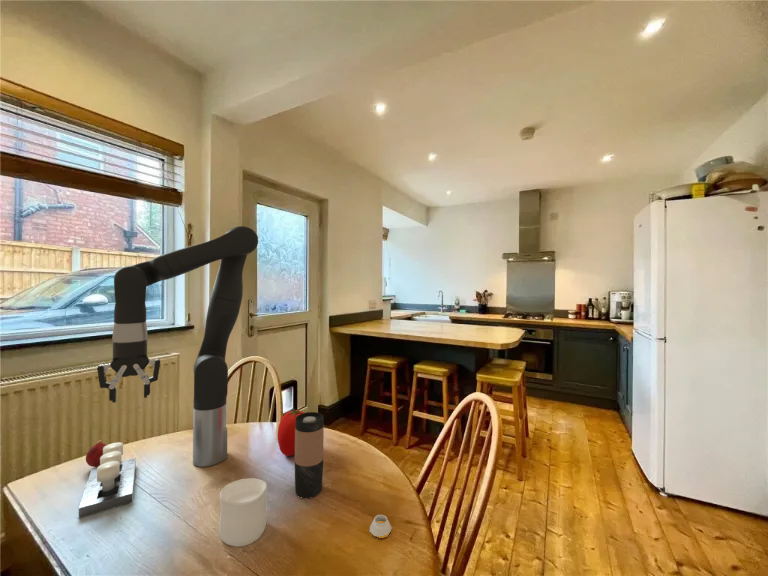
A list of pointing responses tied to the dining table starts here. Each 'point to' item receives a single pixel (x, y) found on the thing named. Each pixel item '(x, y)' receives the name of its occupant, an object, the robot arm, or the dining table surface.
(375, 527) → the lidless jar
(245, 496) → the cup
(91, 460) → the onion
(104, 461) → the knob mid
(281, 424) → the tomato
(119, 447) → the knob far
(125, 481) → the mount panel
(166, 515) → the dining table surface
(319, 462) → the travel mug
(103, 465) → the knob near
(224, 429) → the robot arm
